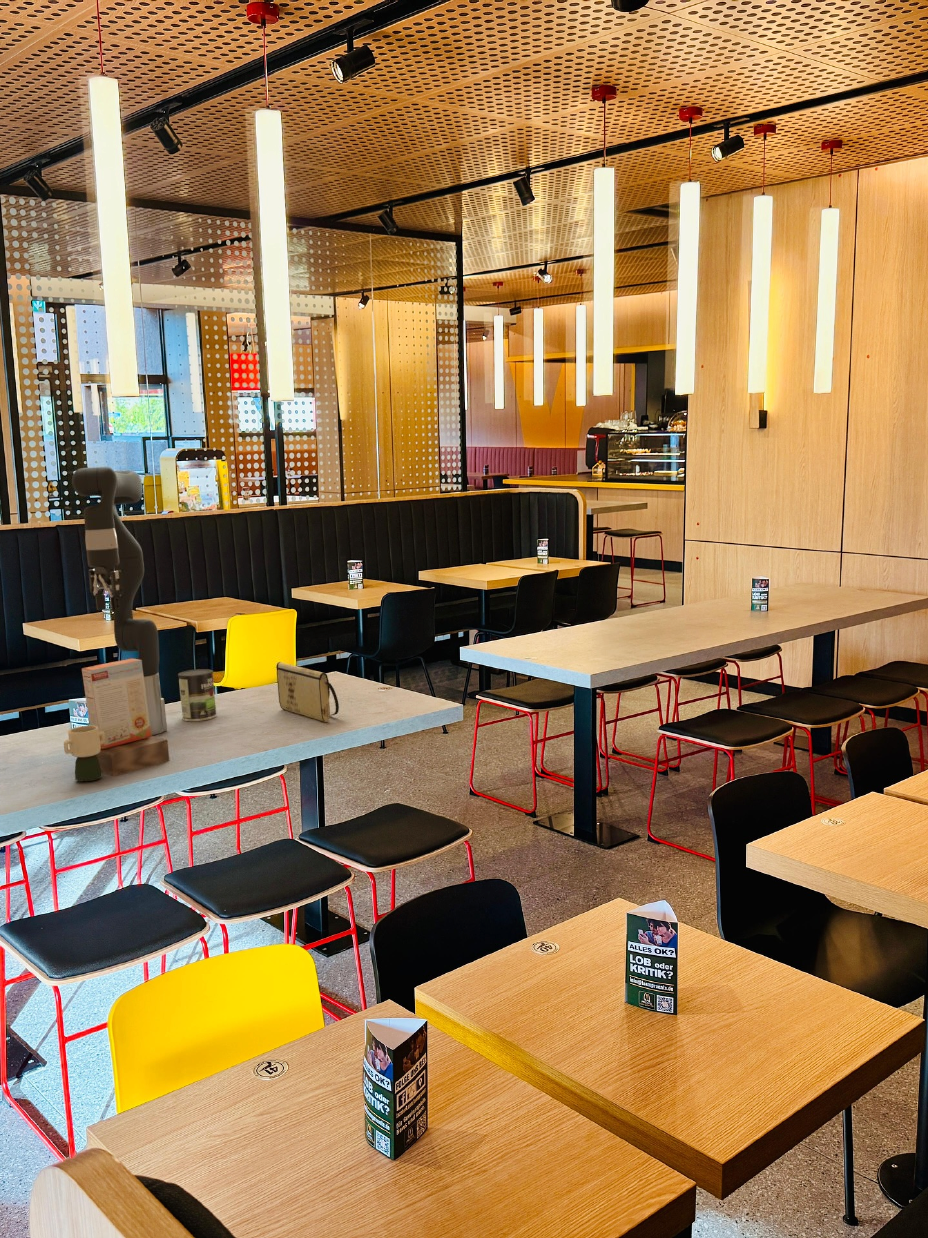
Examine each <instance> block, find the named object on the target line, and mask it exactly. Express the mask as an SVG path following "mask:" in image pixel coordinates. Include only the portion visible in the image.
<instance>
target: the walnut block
mask: <svg viewBox="0 0 928 1238" xmlns="http://www.w3.org/2000/svg"><path fill="white" fill-rule="evenodd" d="M168 741H169V740H168V739H167V738H162V737H158V736H155V735H151V737H149V738H145V739H141V740H137V741H133V742H129V743H125V744H121V745H117V746H113V747H110V748H106V749H101V750H100V753H98V754H96V756H97V757H98V760H99V764H100V768H101V772H102V774H106V775H109V776H113V777H114V776H118V775H122V774H126V773H128V772H132V771H137V770H139V769H142V768H147V767H150V766H153V765H157V764H160V763H164V762H167V761H170V755H169V754H170V753H169V743H168Z"/></svg>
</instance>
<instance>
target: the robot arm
mask: <svg viewBox="0 0 928 1238" xmlns="http://www.w3.org/2000/svg"><path fill="white" fill-rule="evenodd" d="M71 484H72V488H73V489H74V492H75V493H76V494H78V495H79V496H80V497H95V496H97V497H100V500H101V501H100V502H99V503H96V504H92V505H90V506H87V507H85V508H84V510H83V518H84V519H83V520H84V529H85V530H84V531H85V535H84V537H85V548H86V557H87V565H88V567H90V568H91V569H88V579H89V582H88V583H89V591H90V593H91V594H92V593H93V596H94V597H95V605H96V610H97V611H105V610H106V609H107V606H106V604H107V603H106V595H105V593H106V591H107V592H108V595H109V600H110V608H111V610H110V611H111V612H112V613H113V630H114V631H113V632H114V640H115V643H116V646H117V648H118V649H119V650H121V651H122V652H138V653H137V654H138V655H137V659H139V660H142V668H143V675H144V683H145V690H146V697H147V705H148V713H149V720H150V728H151V736H155V735H158V734H161V733H163V732H165V731H168V724H167V716H166V715H167V714H166V704H165V699H164V698H163V697H162V693H161V684H160V674H159V665H160V646H159V631H158V628H157V625H156V623H155V622H154V621H153V620H151V619H148V618H143V619H142V618H138V619H136V618H135V619H134V615H133V612H134V611H133V603H134V599H135V596H136V593H137V592H138V590H139V588H140V585H141V584H142V581H143V579H144V575H145V564H144V555H143V554H144V553H143V550H142V547H141V545H140V543H139V542H138V541H137V540H136V539H135V537H134V536H133V535H132V534H131V532H130V531H129V529H127V527H126V526H125V525H124V523H123V521H122V519H121V517H120V515H119V514H118V510H117V506H116V505H128V504H129V505H130V504H135V503H138V502H140V500H141V499H142V496H143V482H142V480H141V477H140V474H139V473H138V472H136V471H134V470H128V469H127V470H114V469H113V468H112V467H110V466H97V467H96V466H95V467H83V468H82V467H81V468H78V469H76V470H75V471H74V473H73V475H72V477H71ZM92 568H93V569H92Z"/></svg>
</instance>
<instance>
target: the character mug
mask: <svg viewBox="0 0 928 1238" xmlns="http://www.w3.org/2000/svg"><path fill="white" fill-rule="evenodd" d="M67 735H68V739H67V740H65V741H64V742H63V748H64V749H63V750H64V753H65V755H68V754H70V755H71V756H72V757H76V759H75V762H74V764H75V765H74V767H75V768H74V779H75V780H74V781H81V782H87V781H89V782H90V781H95V780H98V779H100V778H101V777H102V776H103V773H102V772H101V768H100V764H99V760H98V757H97V756H96V754H98V753H100V750H101V746H100V745H102V744H104V743H105V734H104V732H103V731H101V732H99V728H98V727H97V726H90V725H83V726H81V725H80V726H77V727H72V728H70V729H68V734H67ZM99 736H101V741H100V737H99Z"/></svg>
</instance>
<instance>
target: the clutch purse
mask: <svg viewBox="0 0 928 1238" xmlns="http://www.w3.org/2000/svg"><path fill="white" fill-rule="evenodd" d="M275 668H276V680H277V692H278V701H279V702H278V704H279V707H280V709H282V710H286V711H289V712H292V713H296V714H299V715H301V716H303V717H304V716H305V717H308V718H312V719H315V720H318V721H321V722H324V723H326V724H327V723H328V722H329V721H330V718H331V716H335V715H337V714H338V713H339V711H340V706H339V699H338V696H337V693H336V691H335V688H334V686H332V683H330V680H329V677H328V675H327V673H326V672H321V671H317V670H314V669H309V668H306V667H301V666H297V665H292V664H288V663H284V662H280V661H279V662H277V664H276V667H275ZM330 691H331V692H330ZM330 693H332V697H333V700H334V704H335V712H334V713H332V714H331V709H330V707H331V706H330Z"/></svg>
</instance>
